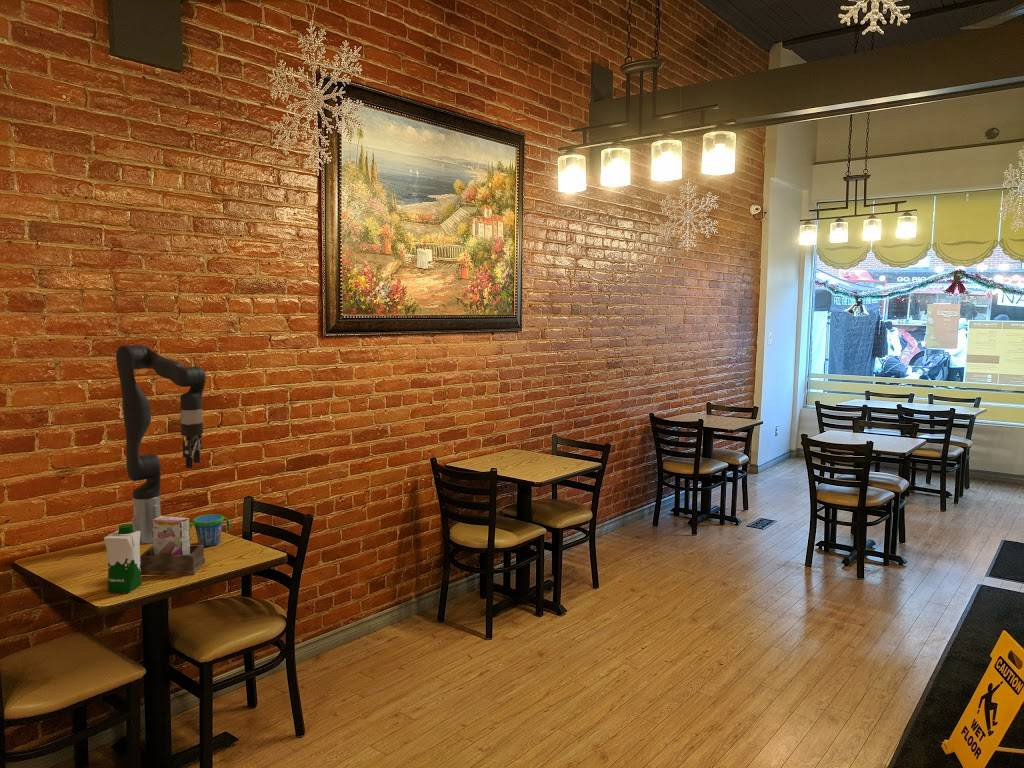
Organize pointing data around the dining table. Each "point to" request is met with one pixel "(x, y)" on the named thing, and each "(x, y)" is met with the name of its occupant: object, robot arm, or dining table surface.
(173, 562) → the slot holder
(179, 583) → the dining table surface
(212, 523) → the snack cup
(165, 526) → the candy bar box
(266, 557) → the dining table surface
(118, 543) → the milk carton
